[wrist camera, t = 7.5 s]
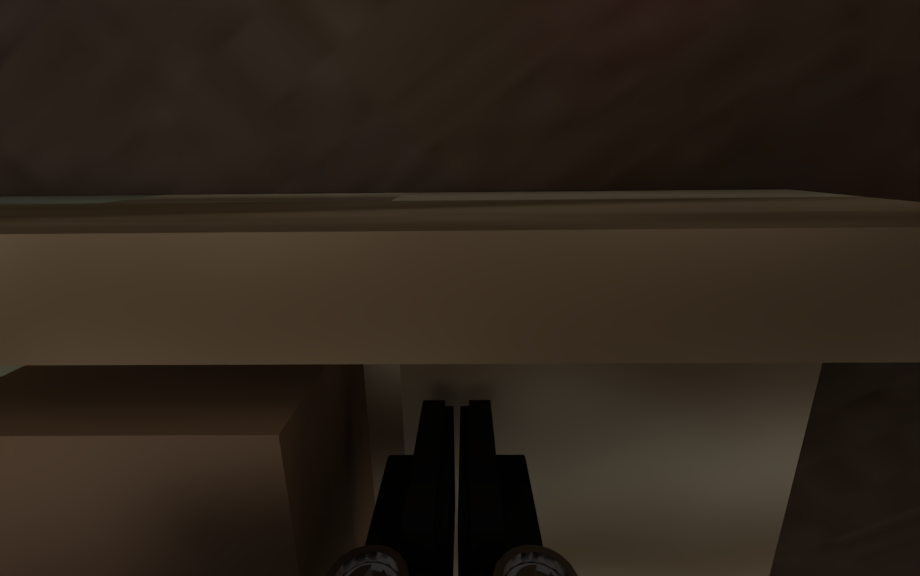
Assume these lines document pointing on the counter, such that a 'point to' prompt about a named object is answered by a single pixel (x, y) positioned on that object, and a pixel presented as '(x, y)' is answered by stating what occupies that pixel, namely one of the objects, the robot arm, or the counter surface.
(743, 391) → the channel deck
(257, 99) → the counter surface
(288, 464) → the walnut block
